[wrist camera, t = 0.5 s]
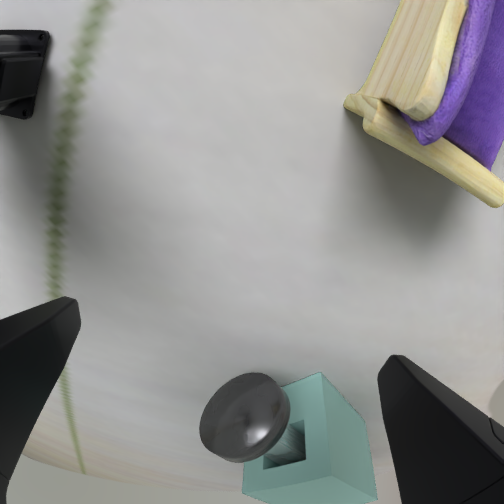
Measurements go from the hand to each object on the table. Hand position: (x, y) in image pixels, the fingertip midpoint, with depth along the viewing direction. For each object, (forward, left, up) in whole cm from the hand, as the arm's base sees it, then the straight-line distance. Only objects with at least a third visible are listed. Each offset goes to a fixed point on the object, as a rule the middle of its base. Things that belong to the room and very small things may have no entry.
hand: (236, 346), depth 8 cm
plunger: (+9, -17, -10) cm, 22 cm away
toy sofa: (+7, +16, -14) cm, 22 cm away
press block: (+14, -21, -13) cm, 28 cm away
